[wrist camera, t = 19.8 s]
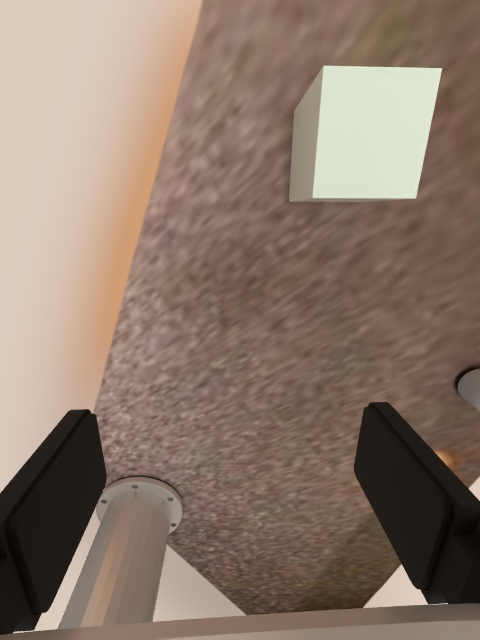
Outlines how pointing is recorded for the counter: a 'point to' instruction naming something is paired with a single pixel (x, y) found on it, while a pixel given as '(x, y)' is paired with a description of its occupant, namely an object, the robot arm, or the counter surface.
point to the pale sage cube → (362, 134)
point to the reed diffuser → (471, 388)
